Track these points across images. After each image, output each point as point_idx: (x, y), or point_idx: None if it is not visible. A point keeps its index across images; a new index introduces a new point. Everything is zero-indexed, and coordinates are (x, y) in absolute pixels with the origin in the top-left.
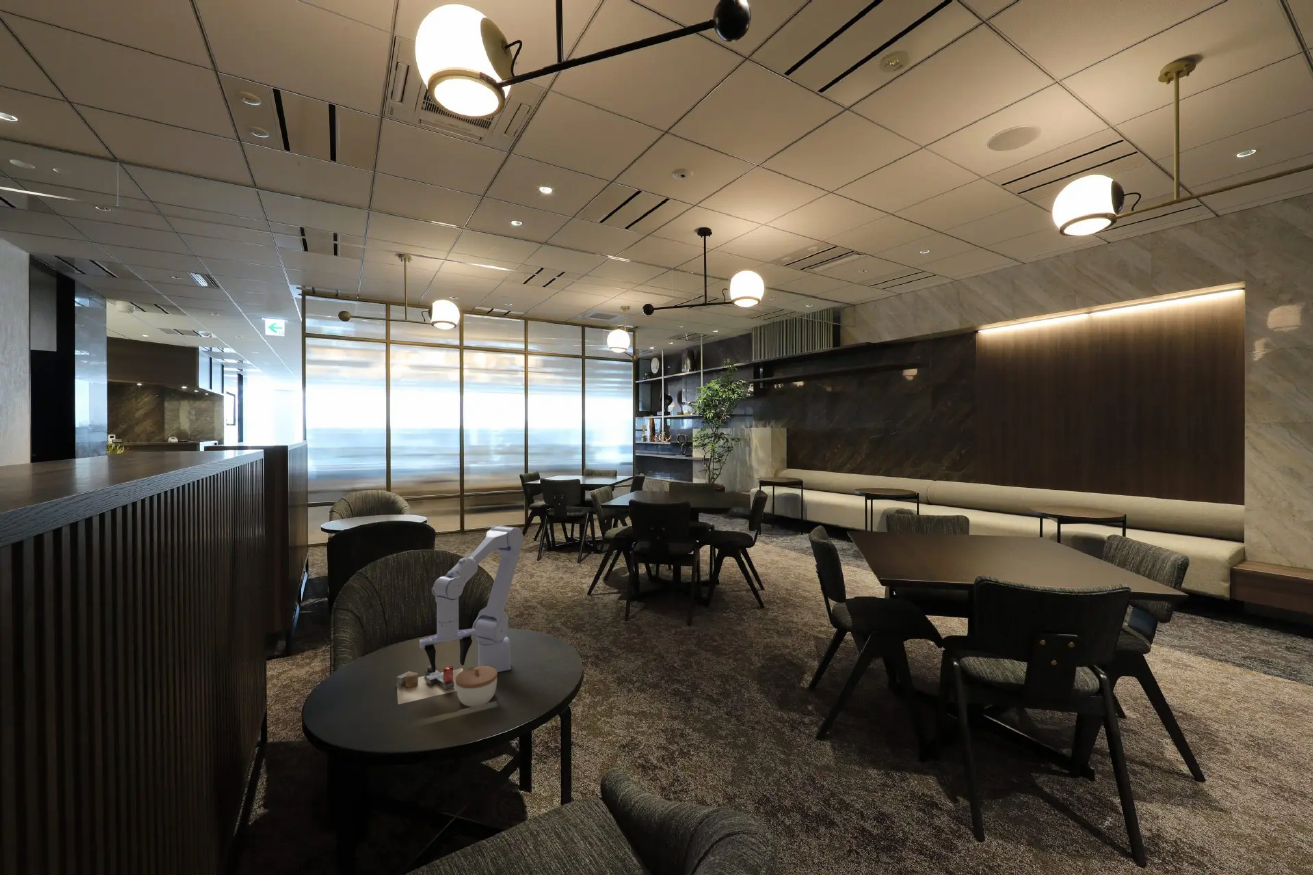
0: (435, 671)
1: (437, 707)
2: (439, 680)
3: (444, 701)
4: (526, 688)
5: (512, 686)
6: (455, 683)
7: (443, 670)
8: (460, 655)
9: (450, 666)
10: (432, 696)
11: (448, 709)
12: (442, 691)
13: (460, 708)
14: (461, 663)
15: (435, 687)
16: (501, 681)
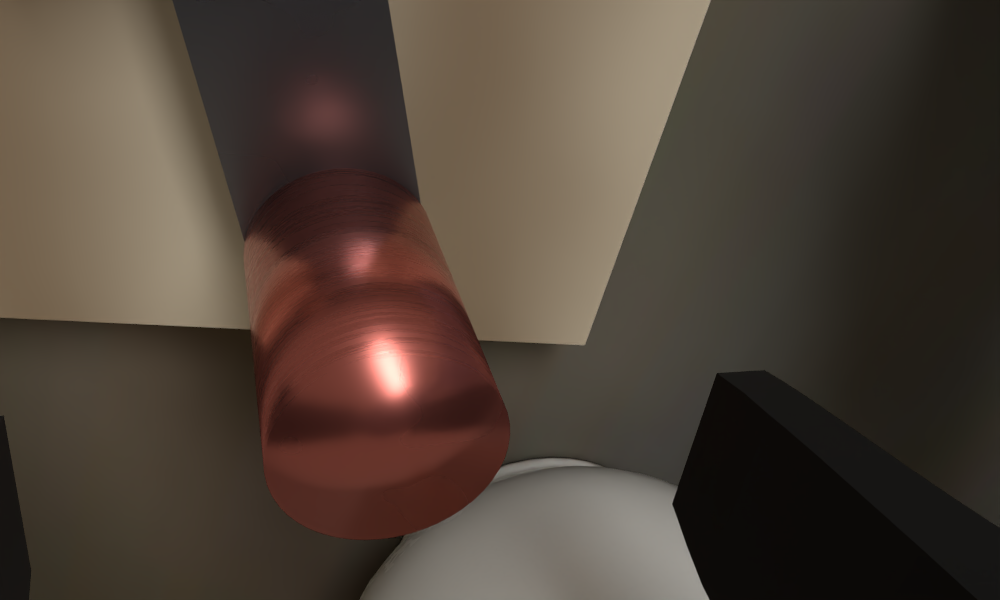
0: (27, 583)
1: (75, 469)
2: (196, 74)
3: (197, 373)
4: (983, 504)
5: (948, 418)
6: (488, 85)
7: (263, 453)
8: (823, 525)
9: (467, 402)
10: (11, 317)
11: (202, 556)
12: (207, 240)
13: (331, 583)
14: (693, 506)
15: (107, 11)
16: (973, 258)
